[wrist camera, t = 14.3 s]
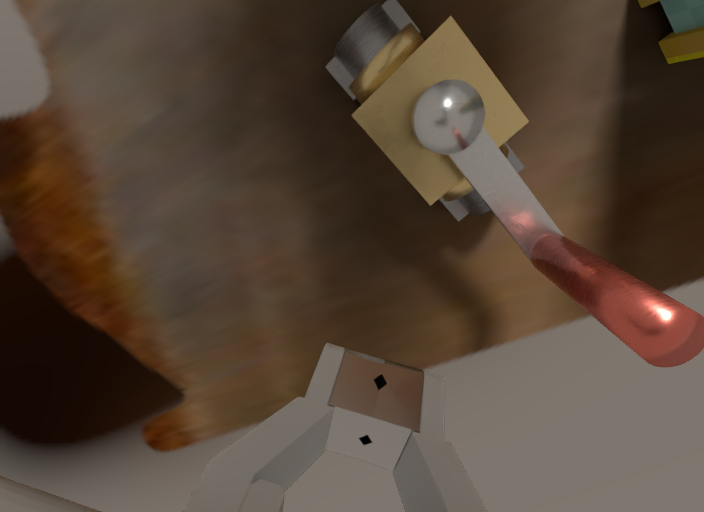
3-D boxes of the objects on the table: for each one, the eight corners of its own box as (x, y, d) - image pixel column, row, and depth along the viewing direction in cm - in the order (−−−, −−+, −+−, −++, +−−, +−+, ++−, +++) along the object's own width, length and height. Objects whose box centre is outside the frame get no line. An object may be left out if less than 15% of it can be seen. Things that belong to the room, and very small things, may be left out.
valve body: (320, 78, 30) (303, 61, 22) (395, -3, 28) (409, -55, 20) (444, 220, 34) (470, 251, 25) (518, 158, 32) (573, 170, 23)
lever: (397, 115, 22) (427, 110, 12) (451, 65, 21) (535, 13, 11) (529, 280, 26) (642, 387, 15) (581, 243, 25) (739, 332, 14)
